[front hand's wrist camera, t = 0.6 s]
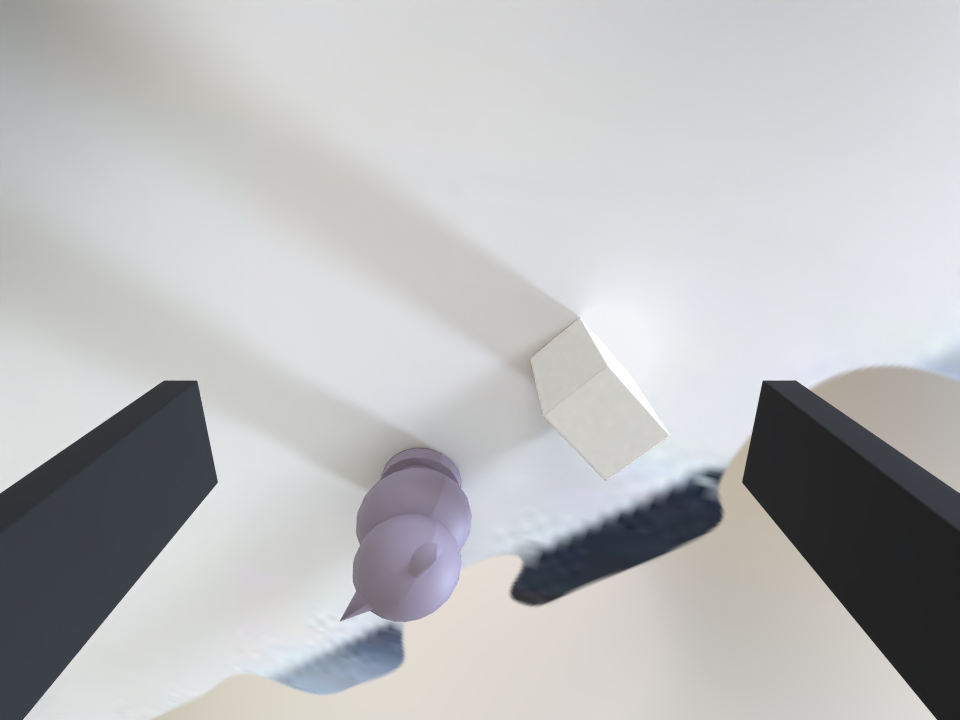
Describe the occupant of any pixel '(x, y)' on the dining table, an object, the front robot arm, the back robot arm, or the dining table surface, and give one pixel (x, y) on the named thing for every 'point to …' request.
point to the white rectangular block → (594, 401)
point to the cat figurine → (410, 538)
